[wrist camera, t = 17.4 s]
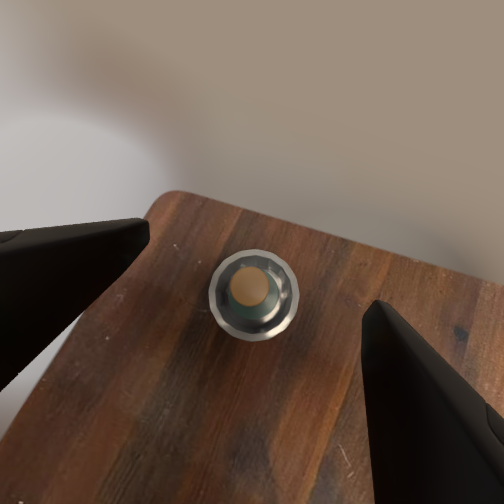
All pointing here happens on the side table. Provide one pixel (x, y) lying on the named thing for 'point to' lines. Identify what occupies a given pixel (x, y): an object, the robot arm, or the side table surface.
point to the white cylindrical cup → (276, 318)
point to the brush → (253, 293)
